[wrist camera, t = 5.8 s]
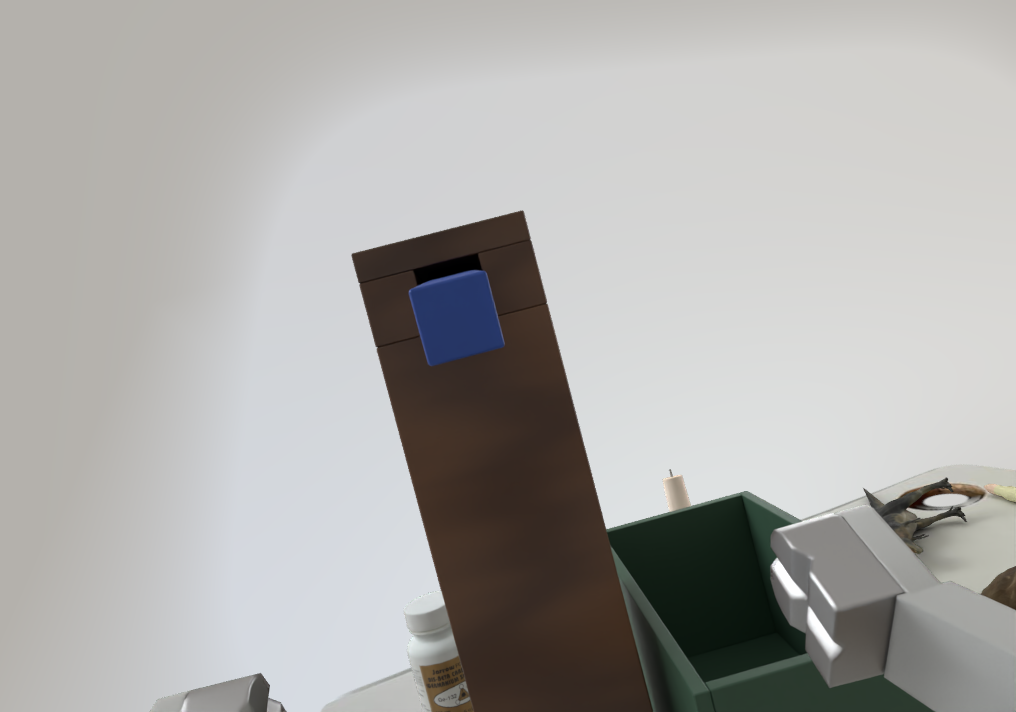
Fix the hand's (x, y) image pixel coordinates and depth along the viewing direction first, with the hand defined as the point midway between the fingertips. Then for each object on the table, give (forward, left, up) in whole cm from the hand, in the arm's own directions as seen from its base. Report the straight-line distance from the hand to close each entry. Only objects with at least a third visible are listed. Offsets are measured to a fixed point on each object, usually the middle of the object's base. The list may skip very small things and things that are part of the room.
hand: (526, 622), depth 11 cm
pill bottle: (-7, +34, -19) cm, 40 cm away
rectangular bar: (0, +15, +5) cm, 16 cm away
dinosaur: (+34, +43, -17) cm, 57 cm away
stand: (0, +20, -19) cm, 28 cm away
